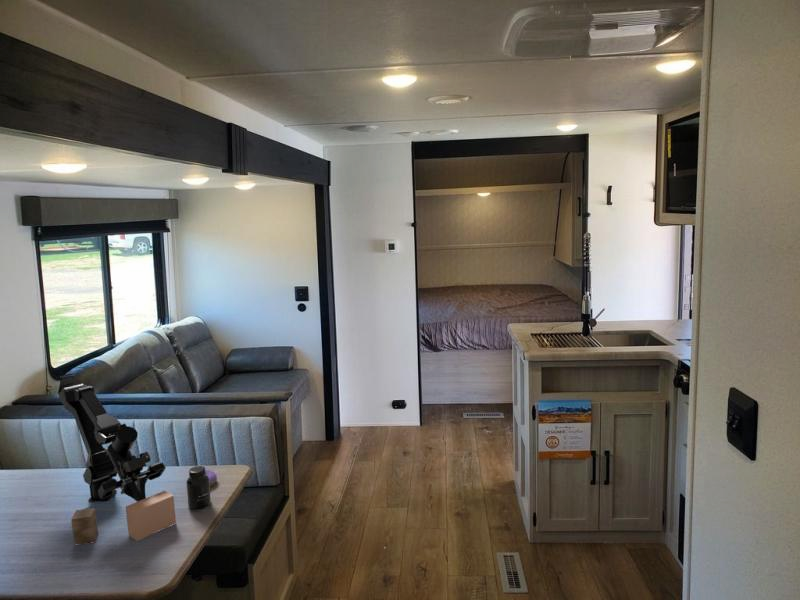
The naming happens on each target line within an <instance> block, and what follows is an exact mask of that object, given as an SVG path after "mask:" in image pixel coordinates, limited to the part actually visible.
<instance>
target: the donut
mask: <svg viewBox="0 0 800 600" xmlns="http://www.w3.org/2000/svg"><path fill="white" fill-rule="evenodd" d="M205 472H206V474H205V475H207V476H208V477H209V482H210V488H211V487H212V486H214V485H215V484H216V482H217V478H218V477H217V474H216V473H215V472H214V471H213V470H210V469H205Z"/></svg>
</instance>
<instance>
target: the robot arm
mask: <svg viewBox="0 0 800 600" xmlns="http://www.w3.org/2000/svg"><path fill="white" fill-rule="evenodd" d="M58 398H59V402H61V403H62V405H63V407H64V409H65V410H66V411H68V412H69V413H70V414H72V415H73V417H74V420H75V423H76V425H77V429H78V431H79V434H80V437H81V439H82V441H83V445H84V447H85V450H86V453H87V458H86V461H85V467H86V469H85V471H84V472H83V475H82V476H83V481H84V483H86V484H87V485H88V486H89V493H90V497H89V498H88V499H87V500H88V502H109V500H111V498H112V497H113V496H115V494H116V493H117V492H118V490H117V489H119V488H120V490H121V491H120V494H121V495H123V494H124V495H126V496H128V497H130V498H132V499H133V500H134V501H136V502H138V501H140V500H143V499H145V498H147V495H146V484H147V482H148V481H149V480H150V481H153V480H157V479H158V478H160V477H161V476H162V475H163V474H164V471H165V470H166V469H167V468H166V465H165V463H164V462H162V461H158V462H155V463H152V464H150V465H149V466H148V468H147V469H146V470H144V471H143V469H144V468H145V467H146V466H147V463H149V462H151V456H150V454H149V453H148V451H147V450H146V451H144V452H141V453H139V456H138V457H136V455H135V454H134V455H133V454H132V451H131V450H132V449H133V447H134V444H135V443H136V441H137V439H138V430H137V429H135V428H134V427H132V426H127V424H126V423H121V422H120V420H118V418H116V417H114V416H112V415H110V414H109V413H108V412H107V410H106V409H105V407H104V406H103V404H102V403H101V401H100V399H99V398H98V396H97V395H96V393H95V389H94V386H92V385H86V384H84V383H79V384H73V385H70V386H67V387H62V389H61V391H60V392H59V393H58ZM107 444H109V445H107ZM103 445H107V448H105V447H104V446H103ZM141 471H142V472H141ZM117 475H118V478H119V479H120V480H118V481H117V479H116V478H114V477H117Z"/></svg>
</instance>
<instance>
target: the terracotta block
mask: <svg viewBox="0 0 800 600" xmlns="http://www.w3.org/2000/svg"><path fill="white" fill-rule="evenodd" d="M174 498H175V497H174V495H173V494H171V493H170V492H169V491H166V490H163V491H161V492H159V493H158V492H157V493H156V494H154V495H150V496H148V497H146V498H145V499H143V500H140V501H138V502H137V501H136V502H133V503H130V504H129V505H126V506H125V514H126V523H127V532H128V536H129V537H130V536H131V539H133V538H134V539H135V540H134V539H133V540H134V541H136V542H139V541H141V540H143V539H145V538H144V537H146V536H148V535H150V534H152V533H154V532H156V531H158V530H161V529H163V528H165V529H167V528H166V527H168V526H170V525H172V524H174V523H176V524H177V518H176V508H175V499H174ZM174 525H175V524H174ZM172 526H173V525H172ZM170 527H171V526H170ZM168 528H169V527H168ZM163 530H164V529H163ZM161 531H162V530H161ZM154 534H155V533H154ZM152 535H153V534H152ZM150 536H151V535H150ZM148 537H149V536H148ZM142 538H143V539H142ZM146 538H147V537H146ZM140 539H141V540H140ZM138 540H139V541H138Z"/></svg>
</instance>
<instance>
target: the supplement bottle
mask: <svg viewBox="0 0 800 600" xmlns="http://www.w3.org/2000/svg"><path fill="white" fill-rule="evenodd" d="M205 470H206V468H205V466H202V465H197V466H193V467H191V468H189V470H188V473H189V474H188V478H187V479H186V494H187V505H188V508H189V509H191V510H193V509H194V511H195V510H196V511H199V509H200V510H203V509H206V508H208V507H209V506H210V505H211V502H212V501H211V487H210V482H209V477H208V476H207V475H205V474H206V472H205Z"/></svg>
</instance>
